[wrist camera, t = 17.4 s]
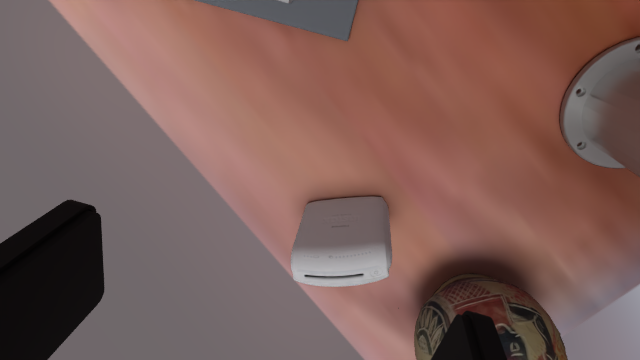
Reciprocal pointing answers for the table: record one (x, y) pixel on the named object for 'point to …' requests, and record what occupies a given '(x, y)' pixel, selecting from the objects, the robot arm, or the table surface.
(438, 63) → the table surface
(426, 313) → the ceramic jug
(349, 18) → the dock board
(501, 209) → the table surface
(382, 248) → the photo printer
